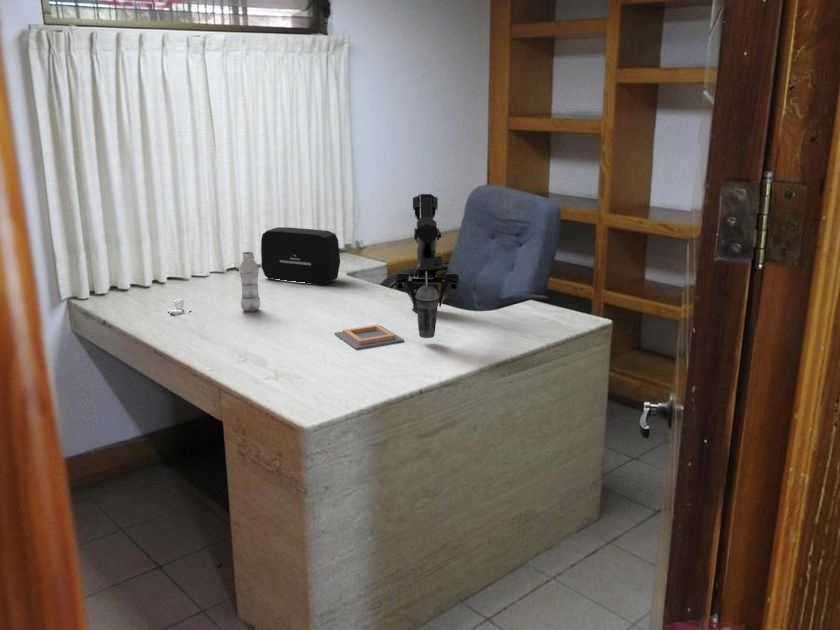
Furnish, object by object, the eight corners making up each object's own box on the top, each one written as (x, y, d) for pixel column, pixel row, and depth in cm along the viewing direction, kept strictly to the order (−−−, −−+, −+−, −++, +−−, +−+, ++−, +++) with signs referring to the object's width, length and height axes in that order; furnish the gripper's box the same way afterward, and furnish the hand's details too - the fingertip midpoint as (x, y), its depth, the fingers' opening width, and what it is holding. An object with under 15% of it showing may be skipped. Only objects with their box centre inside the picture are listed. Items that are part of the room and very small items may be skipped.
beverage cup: (442, 333, 234) (443, 268, 228) (434, 340, 228) (435, 274, 222) (419, 330, 237) (419, 266, 231) (411, 338, 230) (411, 272, 224)
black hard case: (261, 279, 305) (259, 229, 299) (277, 272, 316) (275, 224, 310) (330, 287, 295) (329, 235, 289) (344, 280, 306) (343, 229, 300)
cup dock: (380, 327, 248) (380, 321, 247) (404, 341, 235) (404, 336, 234) (334, 334, 240) (334, 329, 240) (355, 349, 227) (355, 344, 227)
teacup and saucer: (176, 317, 258) (175, 305, 257) (161, 313, 262) (160, 301, 261) (197, 311, 265) (196, 299, 264) (181, 307, 269) (180, 296, 268)
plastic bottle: (237, 312, 263) (233, 254, 257) (248, 307, 269) (245, 250, 263) (253, 314, 260) (250, 256, 254) (264, 309, 266) (261, 252, 260)
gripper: (395, 246, 228) (395, 292, 221) (459, 246, 228) (460, 292, 221) (396, 265, 238) (395, 311, 230) (456, 266, 238) (458, 311, 231)
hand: (427, 306), depth 228 cm, fingers closed on beverage cup, 7 cm apart
